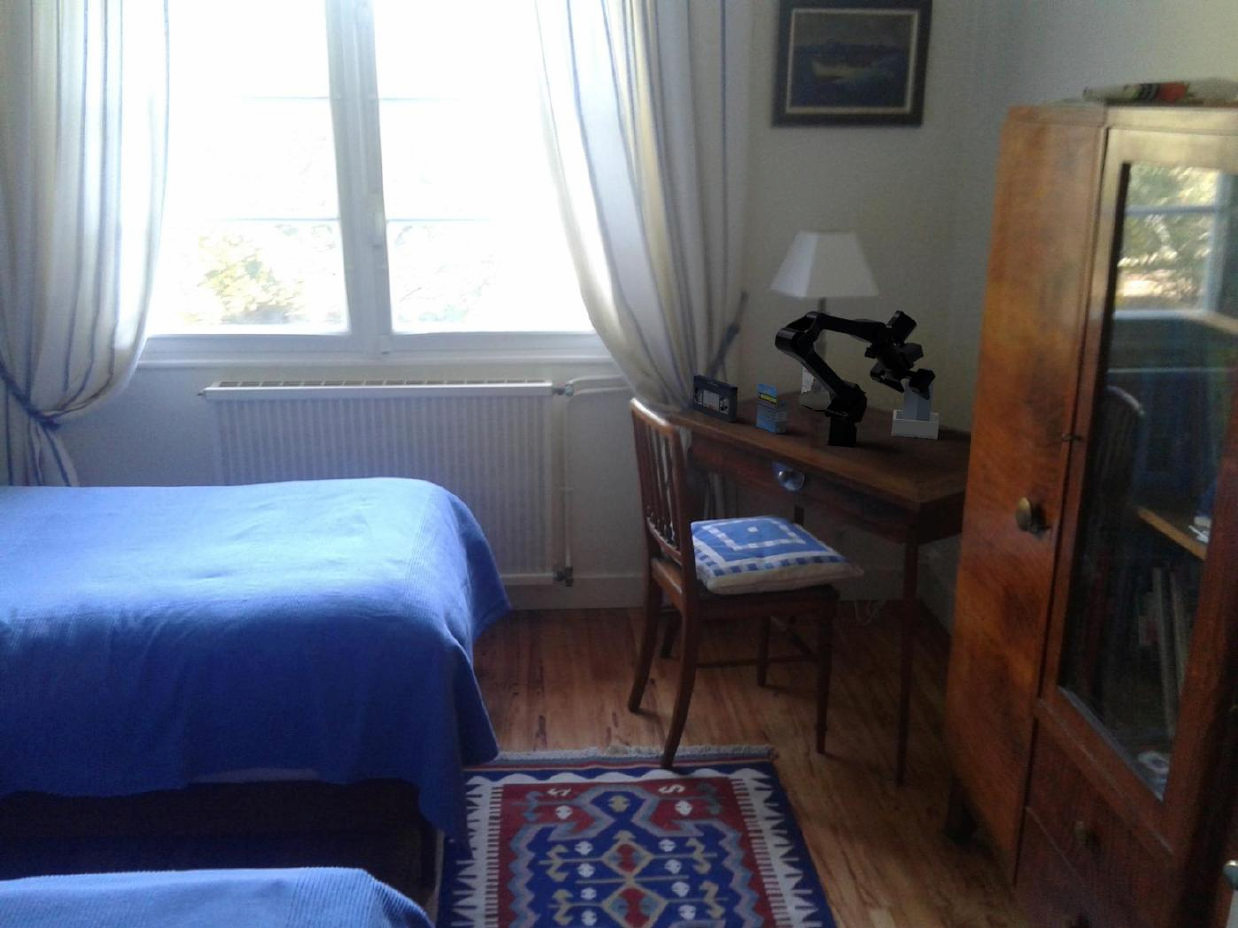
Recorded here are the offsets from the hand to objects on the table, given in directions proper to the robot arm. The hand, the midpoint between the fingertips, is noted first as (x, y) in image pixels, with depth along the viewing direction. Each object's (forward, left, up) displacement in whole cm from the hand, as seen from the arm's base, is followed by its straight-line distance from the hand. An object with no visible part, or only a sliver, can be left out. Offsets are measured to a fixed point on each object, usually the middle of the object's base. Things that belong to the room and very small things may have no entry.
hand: (915, 395), depth 281 cm
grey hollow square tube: (+1, +1, -9) cm, 9 cm away
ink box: (-27, +21, -10) cm, 36 cm away
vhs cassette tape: (-54, +1, -10) cm, 55 cm away
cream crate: (+1, +1, -10) cm, 10 cm away
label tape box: (-36, -9, -10) cm, 39 cm away
